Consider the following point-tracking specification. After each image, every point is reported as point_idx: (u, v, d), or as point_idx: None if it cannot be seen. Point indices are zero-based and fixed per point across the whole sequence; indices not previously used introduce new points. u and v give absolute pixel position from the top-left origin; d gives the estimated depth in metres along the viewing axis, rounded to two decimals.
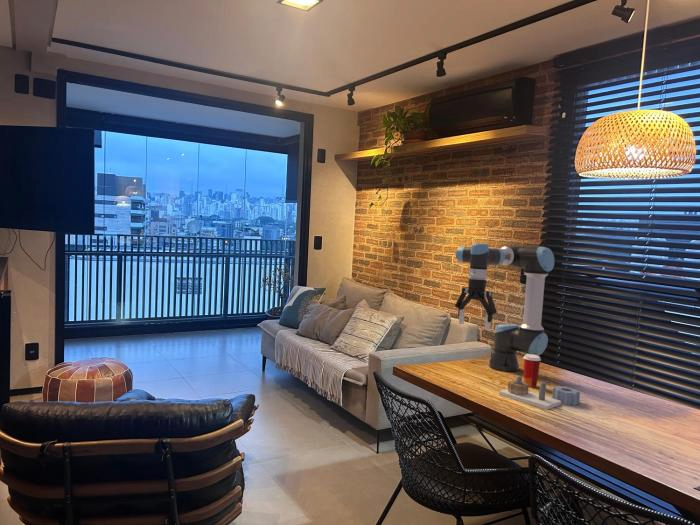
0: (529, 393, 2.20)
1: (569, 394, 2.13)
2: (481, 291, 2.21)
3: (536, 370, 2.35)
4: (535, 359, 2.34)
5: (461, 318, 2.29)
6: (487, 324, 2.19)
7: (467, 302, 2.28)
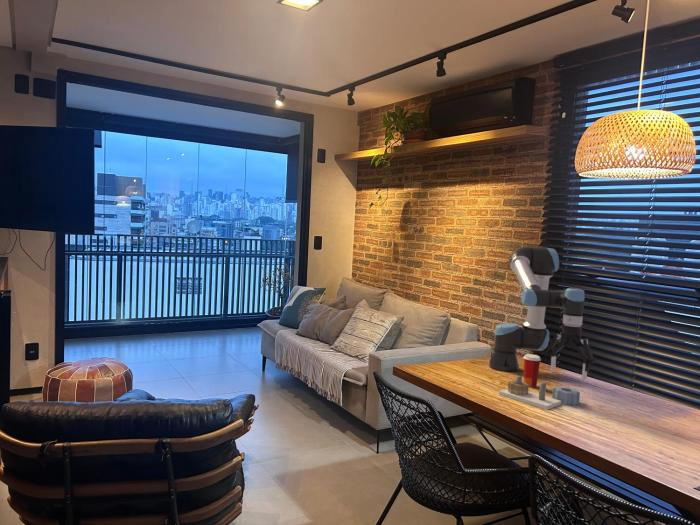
0: (529, 393, 2.20)
1: (569, 394, 2.13)
2: (577, 339, 2.13)
3: (536, 370, 2.35)
4: (535, 359, 2.34)
5: (553, 365, 2.21)
6: (584, 374, 2.11)
7: (560, 349, 2.20)
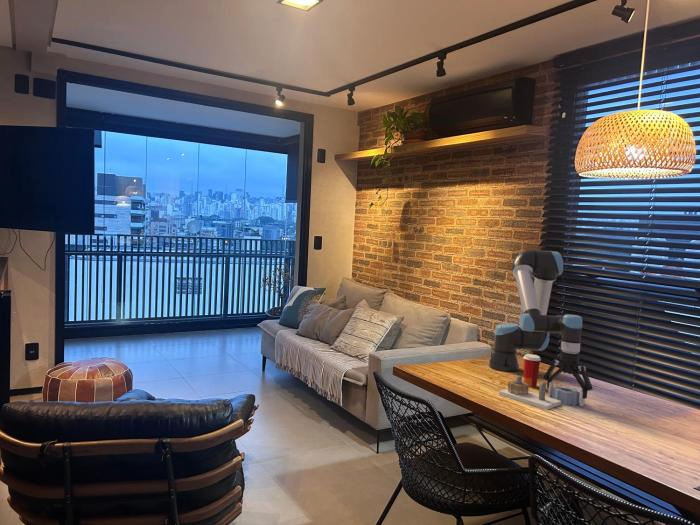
0: (529, 393, 2.20)
1: (569, 394, 2.13)
2: (575, 365, 2.13)
3: (536, 370, 2.35)
4: (535, 359, 2.34)
5: (551, 390, 2.22)
6: (582, 400, 2.11)
7: (557, 375, 2.20)
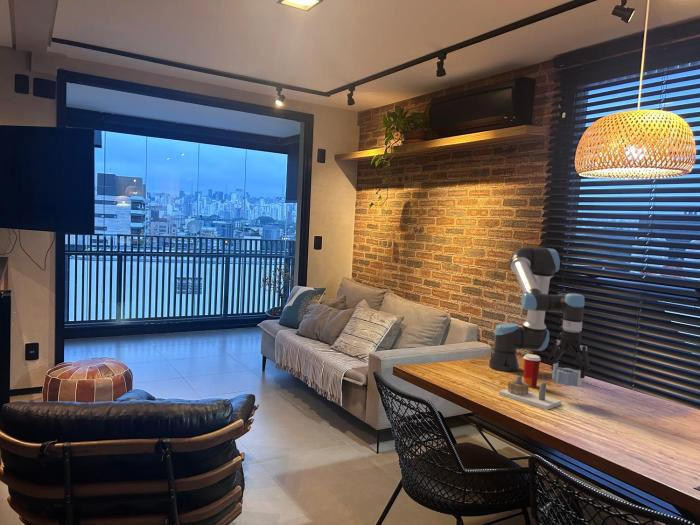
0: (529, 393, 2.20)
1: (570, 375, 2.13)
2: (577, 344, 2.13)
3: (536, 370, 2.35)
4: (535, 359, 2.34)
5: None
6: (580, 380, 2.13)
7: (561, 355, 2.20)
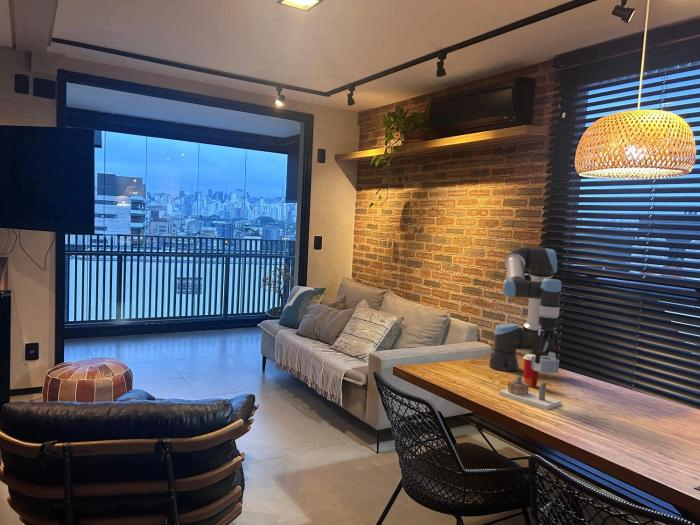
0: (529, 393, 2.20)
1: (534, 358, 2.12)
2: None
3: None
4: None
5: None
6: (536, 365, 2.08)
7: (551, 343, 2.14)
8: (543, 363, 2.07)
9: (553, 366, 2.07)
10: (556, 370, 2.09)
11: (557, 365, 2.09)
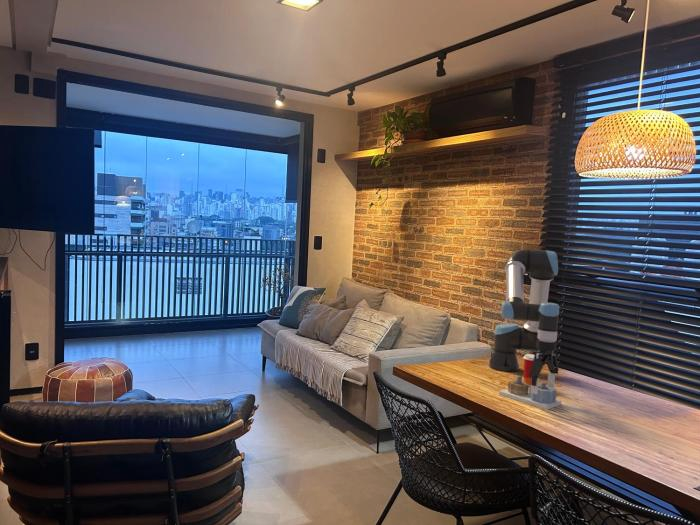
0: None
1: None
2: None
3: None
4: None
5: (549, 381, 2.17)
6: (532, 387, 2.08)
7: (550, 365, 2.15)
8: (540, 393, 2.08)
9: (550, 396, 2.08)
10: (553, 400, 2.10)
11: (554, 395, 2.10)
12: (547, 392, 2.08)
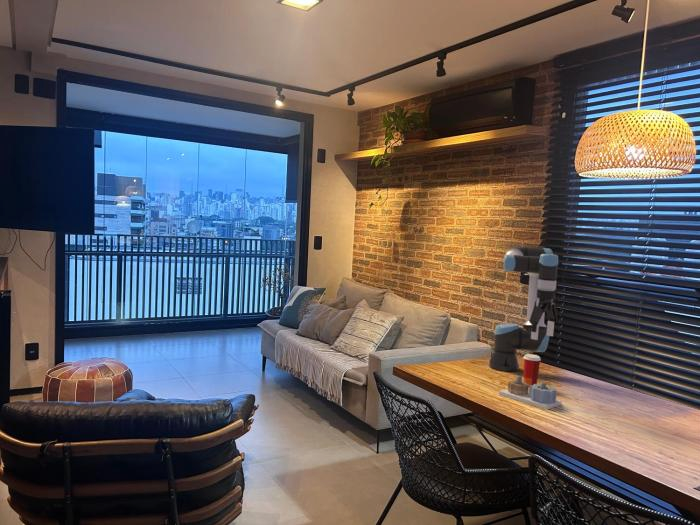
0: None
1: None
2: None
3: (536, 370, 2.35)
4: (535, 359, 2.34)
5: (549, 329, 2.28)
6: (532, 334, 2.20)
7: (549, 314, 2.26)
8: (540, 393, 2.08)
9: (550, 396, 2.08)
10: (553, 400, 2.10)
11: (554, 395, 2.10)
12: (547, 392, 2.08)
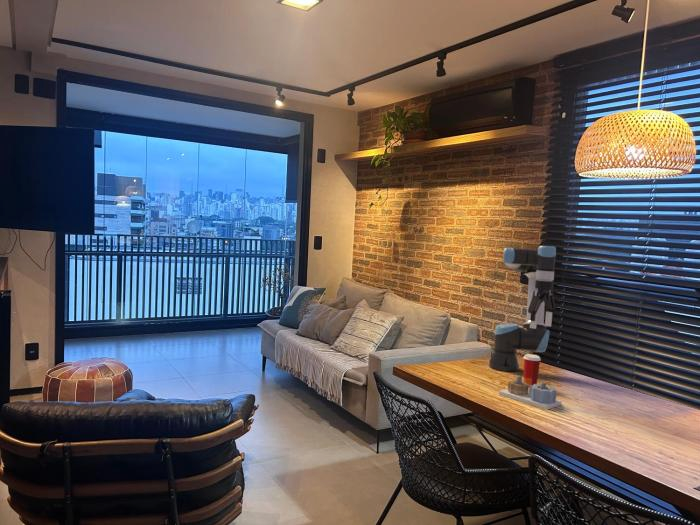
0: None
1: None
2: None
3: (536, 370, 2.35)
4: (535, 359, 2.34)
5: (547, 320, 2.35)
6: (531, 323, 2.26)
7: (548, 304, 2.33)
8: (540, 393, 2.08)
9: (550, 396, 2.08)
10: (553, 400, 2.10)
11: (554, 395, 2.10)
12: (547, 392, 2.08)
